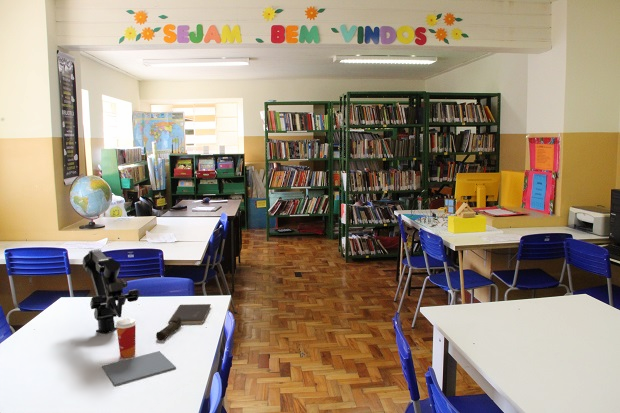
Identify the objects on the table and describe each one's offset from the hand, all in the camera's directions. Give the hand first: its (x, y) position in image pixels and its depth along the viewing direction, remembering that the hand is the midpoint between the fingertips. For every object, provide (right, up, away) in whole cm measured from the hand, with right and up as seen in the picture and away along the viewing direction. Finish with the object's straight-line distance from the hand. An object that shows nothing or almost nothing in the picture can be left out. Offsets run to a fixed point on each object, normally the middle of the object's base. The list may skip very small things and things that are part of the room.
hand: (120, 316), depth 202 cm
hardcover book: (+19, -9, +40) cm, 45 cm away
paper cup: (+5, -14, -5) cm, 16 cm away
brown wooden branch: (+15, -11, +19) cm, 27 cm away
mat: (+13, -16, -16) cm, 26 cm away
